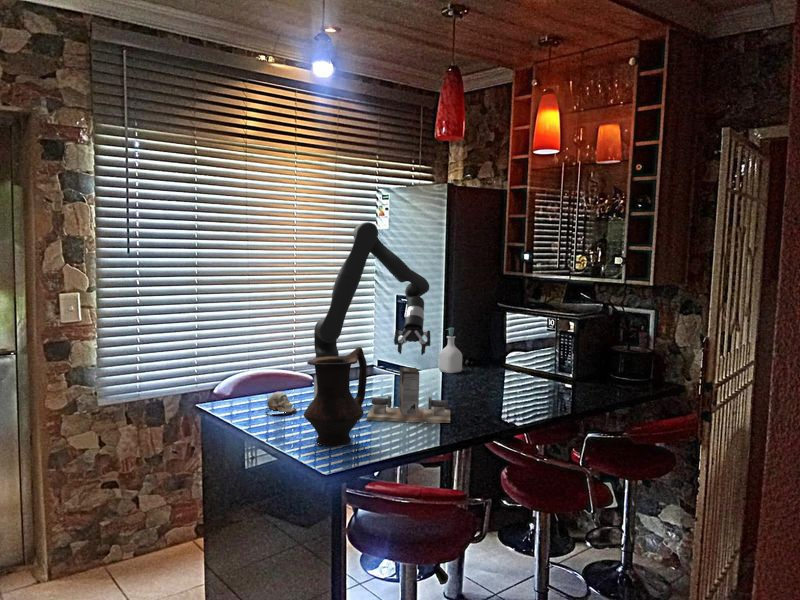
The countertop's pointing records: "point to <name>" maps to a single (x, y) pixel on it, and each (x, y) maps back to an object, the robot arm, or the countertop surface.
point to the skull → (280, 403)
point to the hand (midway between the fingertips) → (411, 353)
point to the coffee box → (409, 391)
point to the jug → (336, 398)
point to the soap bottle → (450, 356)
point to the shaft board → (424, 415)
